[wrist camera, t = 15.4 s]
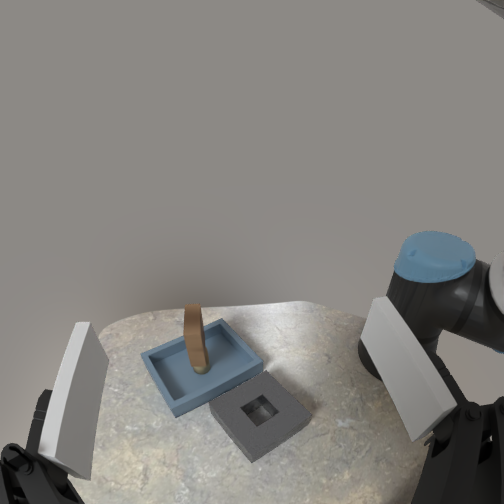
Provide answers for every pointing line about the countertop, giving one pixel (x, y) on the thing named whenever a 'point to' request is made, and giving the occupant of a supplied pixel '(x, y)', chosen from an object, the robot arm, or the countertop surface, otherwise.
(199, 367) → the key
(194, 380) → the tray
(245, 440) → the socket block
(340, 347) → the countertop surface
